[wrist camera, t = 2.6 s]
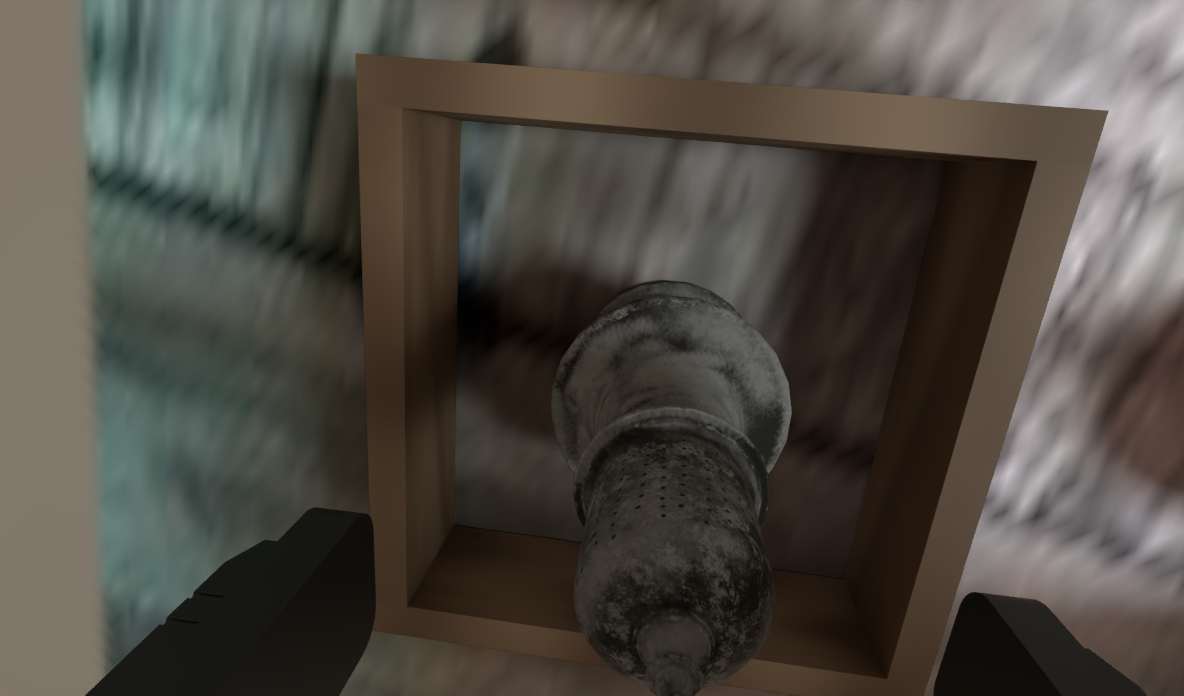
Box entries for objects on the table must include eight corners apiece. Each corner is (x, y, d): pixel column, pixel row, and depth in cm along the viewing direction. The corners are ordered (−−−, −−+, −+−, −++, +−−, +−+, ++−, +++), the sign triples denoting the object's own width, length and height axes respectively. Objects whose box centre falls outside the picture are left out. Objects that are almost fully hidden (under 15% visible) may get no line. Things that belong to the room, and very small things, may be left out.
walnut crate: (998, 123, 15) (1108, 110, 12) (868, 609, 20) (917, 714, 16) (425, 78, 17) (355, 53, 13) (425, 546, 21) (372, 630, 17)
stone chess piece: (544, 303, 18) (343, 542, 7) (738, 244, 17) (894, 410, 6) (604, 474, 20) (523, 910, 8) (787, 430, 18) (992, 862, 7)
